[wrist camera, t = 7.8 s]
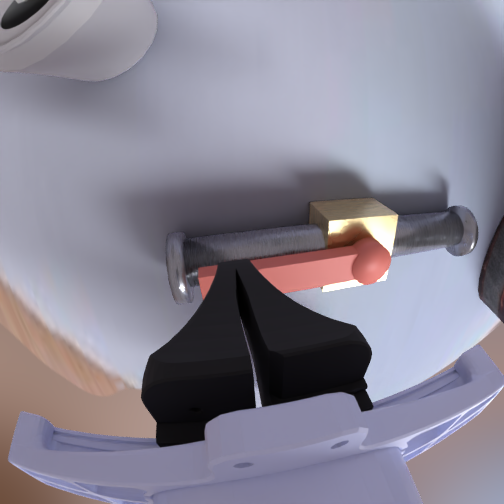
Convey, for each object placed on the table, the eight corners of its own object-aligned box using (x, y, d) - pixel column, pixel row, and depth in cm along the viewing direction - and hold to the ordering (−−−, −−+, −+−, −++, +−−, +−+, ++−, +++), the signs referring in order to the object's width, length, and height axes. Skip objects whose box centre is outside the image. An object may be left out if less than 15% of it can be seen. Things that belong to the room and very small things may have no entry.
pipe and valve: (440, 244, 26) (469, 267, 22) (183, 281, 23) (180, 323, 19) (450, 195, 23) (484, 213, 19) (170, 217, 21) (160, 249, 16)
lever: (384, 235, 19) (394, 243, 18) (378, 270, 21) (386, 280, 19) (197, 261, 18) (196, 272, 16) (205, 299, 19) (205, 312, 18)
